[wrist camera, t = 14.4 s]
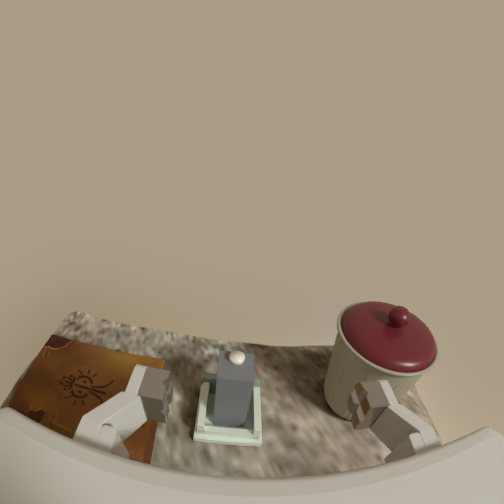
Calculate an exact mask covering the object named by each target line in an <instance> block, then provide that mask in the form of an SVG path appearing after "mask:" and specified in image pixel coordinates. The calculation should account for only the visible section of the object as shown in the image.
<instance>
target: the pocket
mask: <svg viewBox="0 0 504 504" xmlns="http://www.w3.org/2000/svg"><path fill="white" fill-rule="evenodd" d="M216 382H217V375H213V374H205V373H204V378H203V384H201V389H200V396H199V403H198V409H197V416H196V423H195V430H194V437H193V438H194V441H201V442H209V443H218V444H229V445H244V446H261V444H262V436H261V431H262V428H261V405H260V384H261V379H255V383H254V387H253V391H252V395H251V399H250V403H249V407H248V411H247V415H246V419H245V423H244V427H234V426H222V425H213V420H214V406H215V394H216Z"/></svg>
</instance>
